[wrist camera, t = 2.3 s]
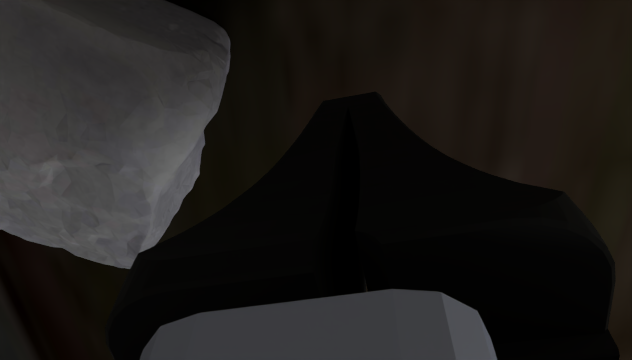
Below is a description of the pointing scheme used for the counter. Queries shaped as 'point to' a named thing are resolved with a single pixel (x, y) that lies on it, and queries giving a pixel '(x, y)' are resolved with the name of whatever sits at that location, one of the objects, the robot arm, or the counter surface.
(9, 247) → the counter surface
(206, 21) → the stone block
